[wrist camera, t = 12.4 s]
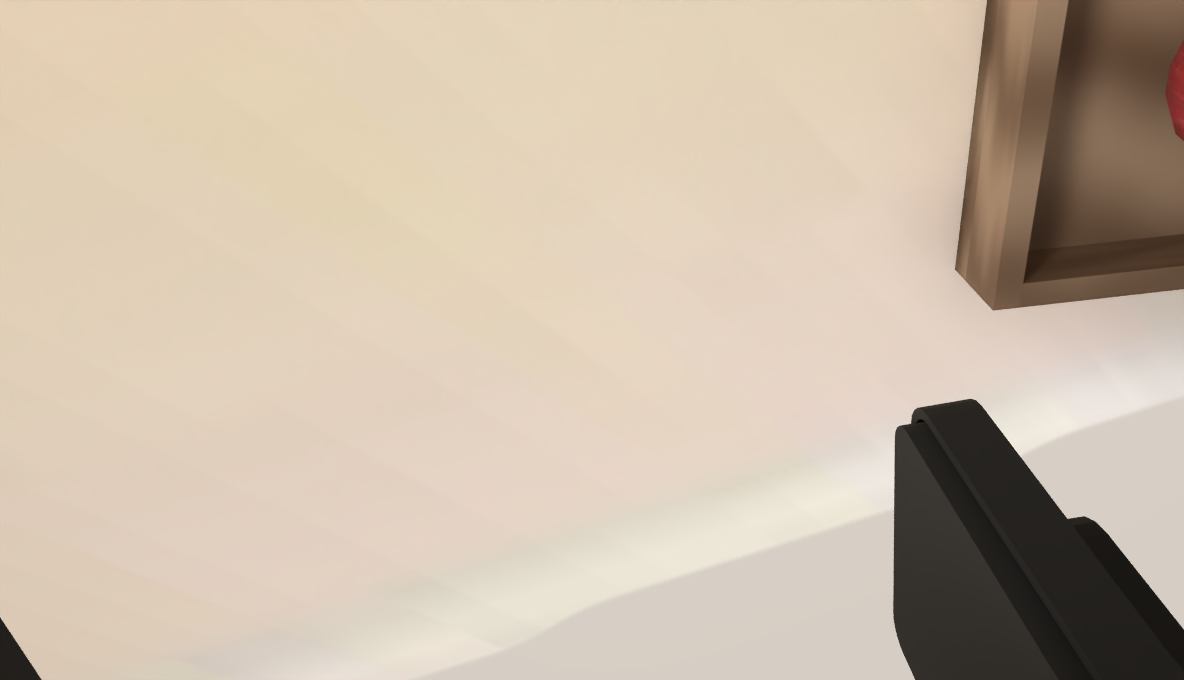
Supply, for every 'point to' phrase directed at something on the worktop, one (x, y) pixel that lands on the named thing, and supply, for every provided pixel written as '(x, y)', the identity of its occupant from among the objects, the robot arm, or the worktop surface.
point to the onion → (1176, 92)
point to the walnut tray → (1074, 154)
